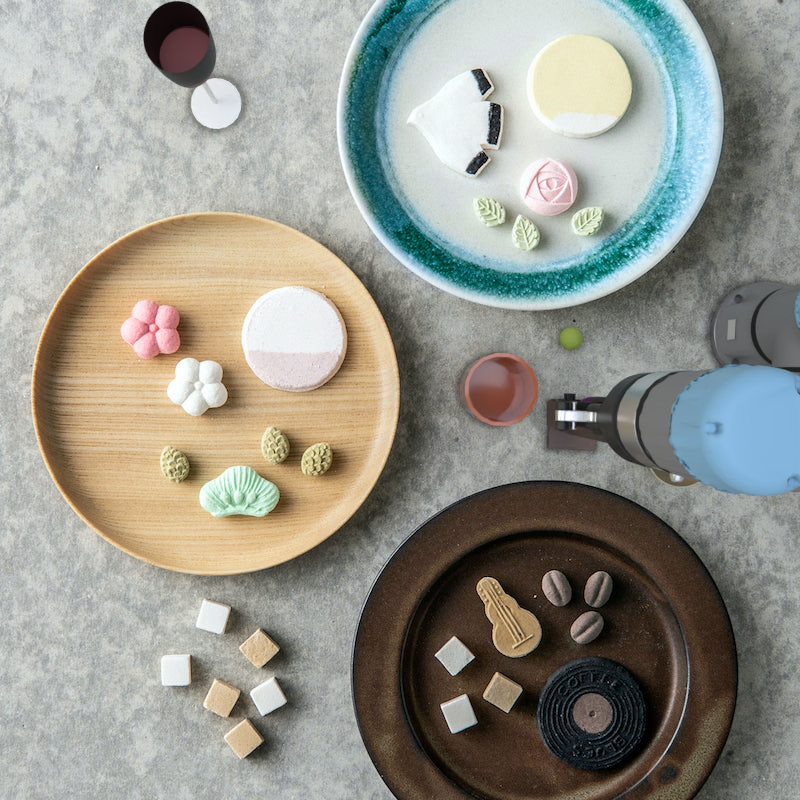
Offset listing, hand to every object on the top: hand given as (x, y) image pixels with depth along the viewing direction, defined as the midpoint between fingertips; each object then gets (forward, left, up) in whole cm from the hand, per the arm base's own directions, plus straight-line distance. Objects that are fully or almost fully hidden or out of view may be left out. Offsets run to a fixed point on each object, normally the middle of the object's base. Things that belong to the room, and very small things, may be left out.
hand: (578, 411), depth 78 cm
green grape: (-6, -10, -28) cm, 30 cm away
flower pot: (-21, +6, -30) cm, 37 cm away
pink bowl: (+5, -2, -30) cm, 30 cm away
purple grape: (0, 0, +5) cm, 5 cm away
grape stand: (-7, +3, -30) cm, 31 cm away
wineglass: (+48, -43, -30) cm, 71 cm away
